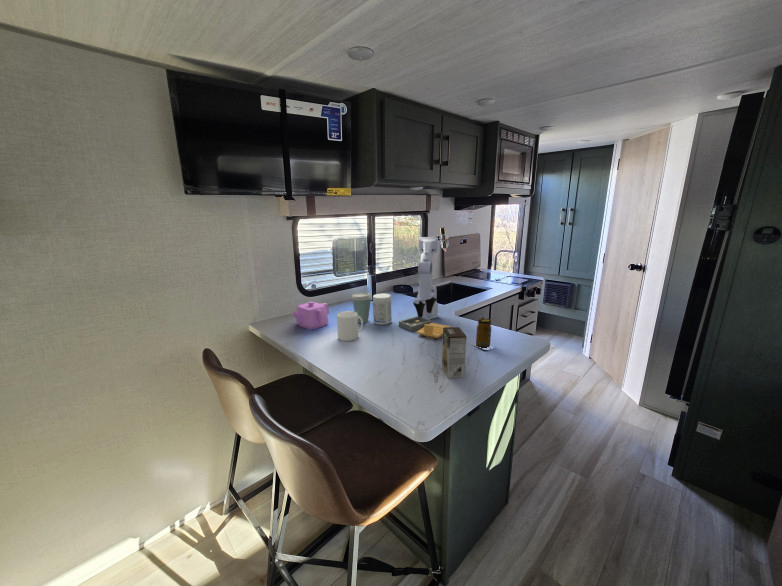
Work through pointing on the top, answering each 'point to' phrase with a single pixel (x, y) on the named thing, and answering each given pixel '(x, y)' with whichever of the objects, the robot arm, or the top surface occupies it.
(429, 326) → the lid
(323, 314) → the teakettle
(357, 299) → the disposable coffee cup
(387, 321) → the supplement tub
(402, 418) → the top surface
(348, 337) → the mug
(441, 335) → the mat
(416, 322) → the parts tub
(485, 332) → the condiment
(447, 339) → the coffee box
